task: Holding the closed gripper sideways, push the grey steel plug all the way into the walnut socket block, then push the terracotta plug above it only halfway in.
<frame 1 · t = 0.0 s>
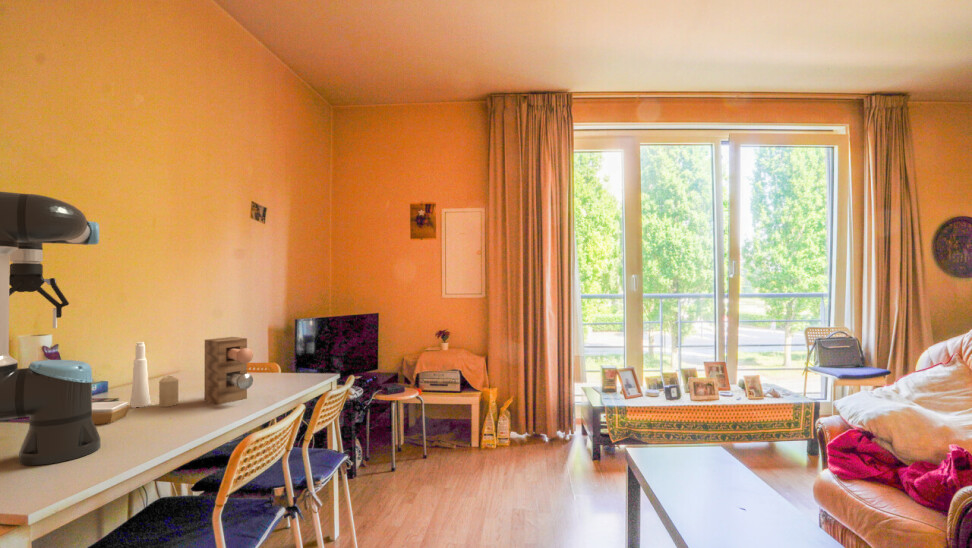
hand: (26, 329, 148), 28 cm above the table, tool pointing down, fingers open, 13 cm apart
socket block: (225, 399, 169), on the table
terracotta plug: (237, 354, 165), point 17 cm above the table, slide at 0.0 cm
steel plug: (237, 379, 165), point 8 cm above the table, slide at 0.0 cm
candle: (168, 405, 162), on the table
cosmetic bottle: (140, 406, 161), on the table
soap dish: (100, 422, 144), on the table
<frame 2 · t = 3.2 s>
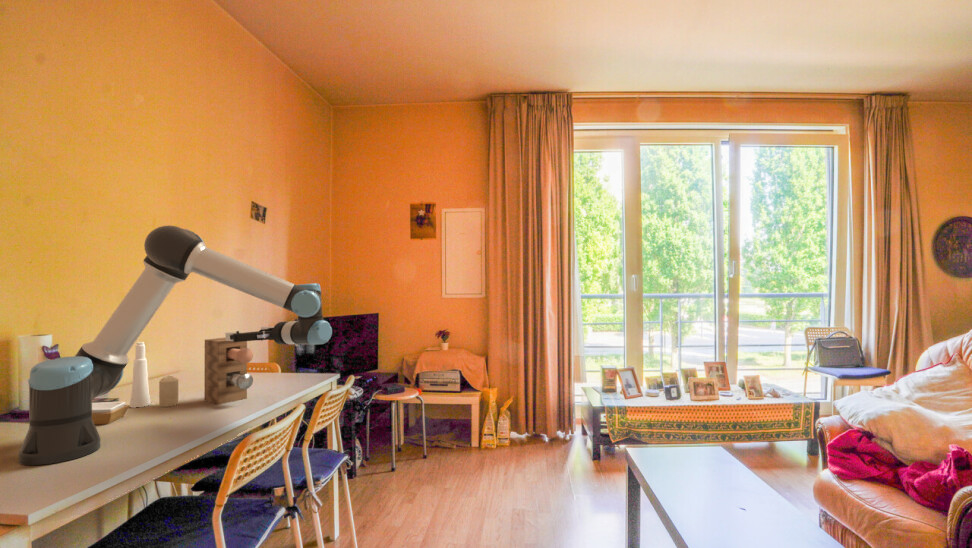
hand: (244, 333, 160), 25 cm above the table, tool horizontal, fingers open, 13 cm apart
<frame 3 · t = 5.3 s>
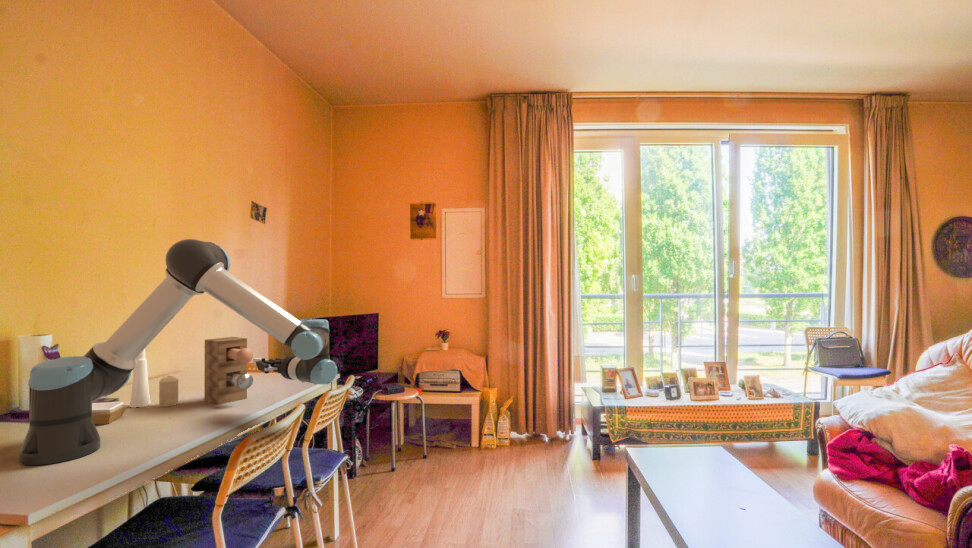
hand: (255, 362, 160), 15 cm above the table, tool horizontal, fingers closed
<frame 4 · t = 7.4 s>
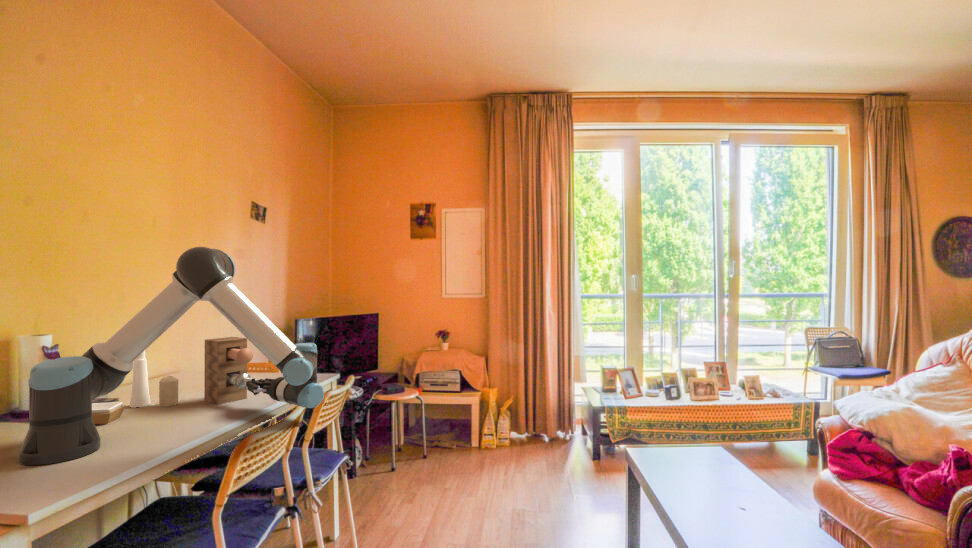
hand: (245, 381, 162), 8 cm above the table, tool horizontal, fingers closed
steel plug: (235, 379, 165), point 8 cm above the table, slide at 1.1 cm, touching gripper
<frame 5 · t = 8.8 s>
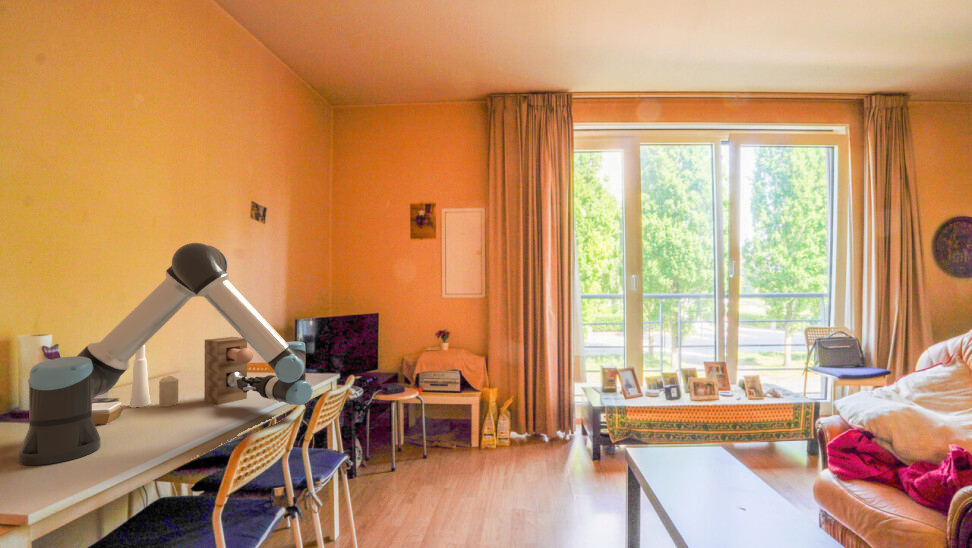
hand: (236, 379, 165), 8 cm above the table, tool horizontal, fingers closed
steel plug: (227, 377, 168), point 8 cm above the table, slide at 6.6 cm, touching gripper
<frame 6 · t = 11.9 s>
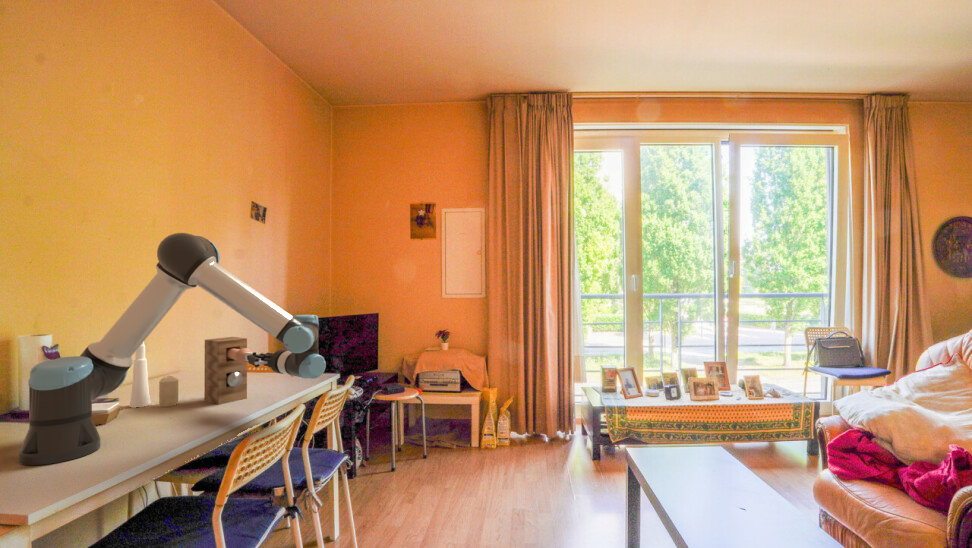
hand: (246, 355, 162), 17 cm above the table, tool horizontal, fingers closed
terracotta plug: (236, 354, 165), point 17 cm above the table, slide at 0.3 cm, touching gripper
steel plug: (227, 377, 168), point 8 cm above the table, slide at 6.6 cm
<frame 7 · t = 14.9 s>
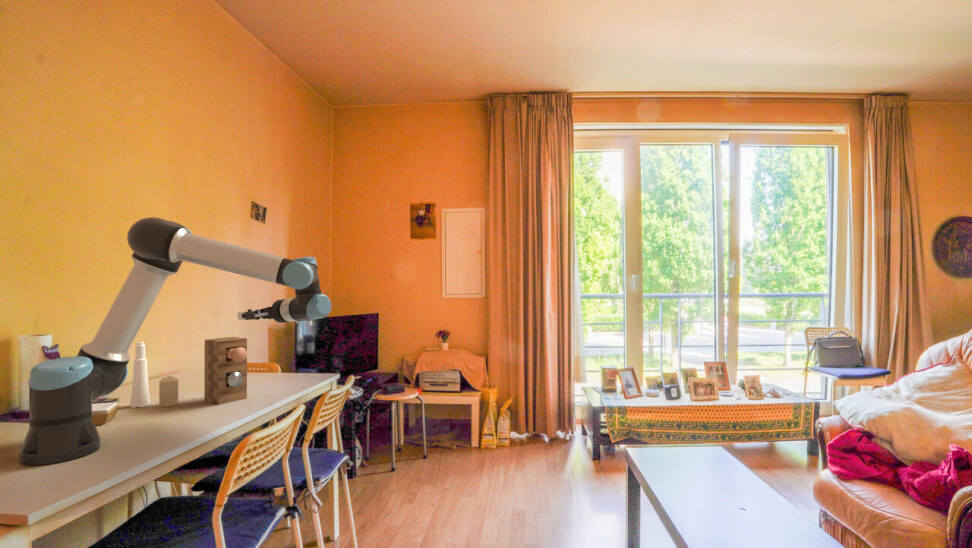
hand: (239, 316, 158), 31 cm above the table, tool horizontal, fingers closed
terracotta plug: (231, 353, 167), point 17 cm above the table, slide at 3.8 cm
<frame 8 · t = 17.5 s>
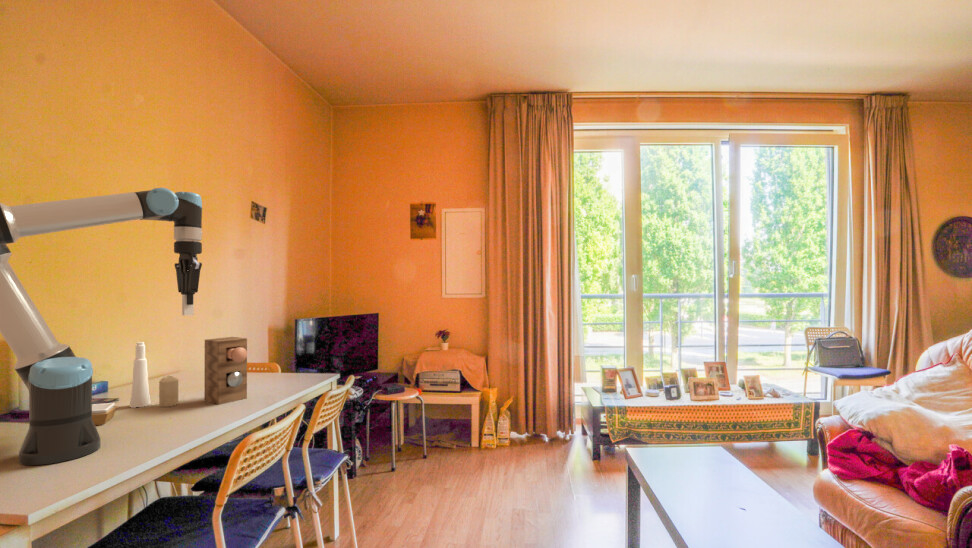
hand: (187, 315, 148), 32 cm above the table, tool pointing down, fingers closed
at the end: steel plug slide at 6.6 cm; terracotta plug slide at 3.8 cm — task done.
